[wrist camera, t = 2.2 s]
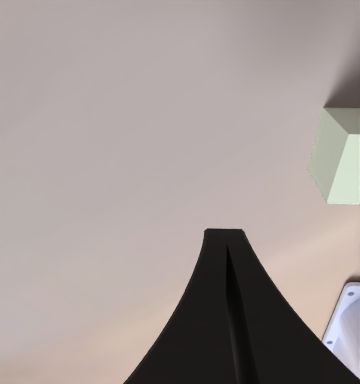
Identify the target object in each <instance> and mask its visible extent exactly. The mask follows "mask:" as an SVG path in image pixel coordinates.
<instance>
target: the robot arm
mask: <svg viewBox="0 0 360 384" xmlns="http://www.w3.org/2000/svg"><path fill="white" fill-rule="evenodd" d="M331 351H332V352H333V353H332V352H331ZM123 384H360V282H349V283H347V284H346V285H345V286H344V289H343V291H342V294H341V296H340V299H339V301H338V303H337V306H336V308H335V311H334V313H333V316H332V318H331V321H330V323H329V325H328V328H327V330H326V333H325V335H324V338H323V340H322V342H321V341H320V340H319V338H318V337H317V336H316V335H315V334H314V333H313V332H312V331H311V330H310V328H309V327H308V326H307V325H306V324H305V323H304V322H303V321H302V319H301V318H300V317H299V316H298V315H297V313H296V312H295V311H294V310H293V308H292V307H291V306H290V305H289V303H288V302H287V301H286V299H285V298H284V297H283V295H282V294H281V293H280V291H279V290H278V289H277V287H276V286H275V284H274V283H273V281H272V280H271V278H270V277H269V275H268V274H267V272H266V271H265V269H264V267H263V266H262V264H261V263H260V261H259V259H258V258H257V256H256V254H255V252H254V251H253V249H252V247H251V245H250V243H249V241H248V239H247V237H246V235H245V232H244V231H243V230H242V229H210V228H207V229H206V230H205V231H204V239H203V244H202V248H201V252H200V255H199V258H198V261H197V263H196V266H195V269H194V271H193V274H192V276H191V278H190V281H189V283H188V285H187V287H186V289H185V292H184V294H183V296H182V298H181V300H180V301H179V303H178V305H177V307H176V309H175V311H174V312H173V314H172V316H171V318H170V319H169V321H168V322H167V324H166V326H165V327H164V329H163V330H162V332H161V334H160V335H159V337H158V338H157V340H156V341H155V343H154V344H153V345H152V347H151V348H150V350H149V351H148V352H147V354H146V355H145V356H144V358H143V359H142V361H141V362H140V363H139V365H138V366H137V367H136V369H135V370H134V371H133V372H132V374H131V375H130V376H129V377H128V379H127V380H126V381H125V382H124V383H123Z"/></svg>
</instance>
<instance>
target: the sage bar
mask: <svg viewBox="0 0 360 384" xmlns="http://www.w3.org/2000/svg"><path fill="white" fill-rule="evenodd" d="M307 170H308V172H309V173H310V175H311V177H312V179H313V181H314V182H315V184H316V186H317V188H318V189H319V191H320V193H321V195H322V197H323V198H324V200H325V202H326V203H330V204H360V108H323V110H322V113H321V117H320V121H319V125H318V129H317V133H316V136H315V140H314V144H313V148H312V152H311V156H310V159H309V163H308V167H307Z"/></svg>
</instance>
